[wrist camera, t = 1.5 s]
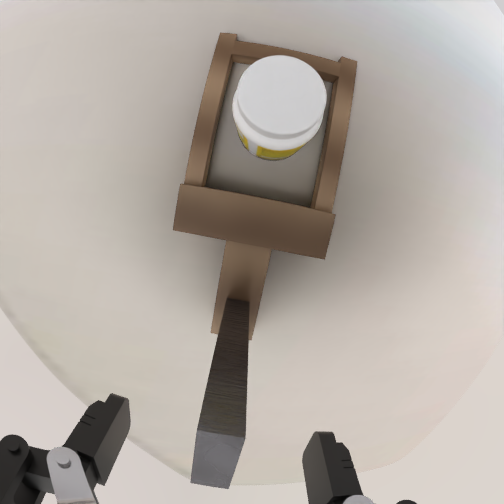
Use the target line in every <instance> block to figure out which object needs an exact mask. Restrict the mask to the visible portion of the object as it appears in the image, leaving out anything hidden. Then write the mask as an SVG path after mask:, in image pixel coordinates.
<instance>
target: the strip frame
mask: <svg viewBox="0 0 504 504" xmlns="http://www.w3.org/2000/svg"><path fill="white" fill-rule="evenodd" d="M275 55H284V56H290V57H294V58H297V59H299V60H302V61H304V62H305V63H307V64H308V65H310V66H311V67H312V68H313V69H314V70H315V71H316V72H317V73H318V74H319V75H320V77H321V79H322V80H325V81H328V82H332V83H333V89H332V96H331V102H330V108H329V114H328V119H327V125H326V131H325V136H324V142H323V147H322V152H321V158H320V163H319V168H318V173H317V178H316V183H315V188H314V193H313V197H312V202H311V207H306V206H301V205H297V204H292V203H287V202H283V201H278V200H273V199H268V198H263V197H258V196H253V195H248V194H243V193H237V192H232V191H227V190H221V189H215V188H210V187H205V185H206V179H207V174H208V169H209V164H210V159H211V154H212V149H213V144H214V140H215V135H216V130H217V126H218V121H219V117H220V112H221V108H222V104H223V99H224V95H225V91H226V87H227V83H228V79H229V75H230V71H231V67H232V63H233V62H237V63H244V64H250V65H252V64H253V63H254V62H256V61H258V60H260V59H262V58H265V57H269V56H275ZM356 67H357V61H354V60H351V59H348V58H345V57H341V58H340V60H339V61H338V62H336V61H333V60H329V59H326V58H322V57H318V56H314V55H311V54H307V53H302V52H298V51H294V50H289V49H284V48H279V47H274V46H268V45H263V44H256V43H250V42H242V41H238V40H237V34H229V33H220V35H219V39H218V42H217V45H216V49H215V52H214V56H213V59H212V63H211V66H210V70H209V74H208V77H207V81H206V85H205V89H204V93H203V97H202V101H201V105H200V109H199V114H198V118H197V122H196V127H195V131H194V136H193V141H192V145H191V150H190V155H189V160H188V165H187V170H186V176H185V181H184V184H180V189H179V194H178V200H177V206H176V213H175V219H174V226H173V230H175V231H180V232H186V233H191V234H196V235H201V236H207V237H212V238H217V239H222V240H226V245H225V251H224V256H223V262H222V268H221V273H220V279H219V285H218V291H217V297H216V303H215V309H214V315H213V321H212V327H211V333H214V334H218V337H217V342H216V346H215V351H214V355H213V360H212V364H211V368H210V373H209V377H208V382H207V386H206V391H205V395H204V400H203V405H202V409H201V414H200V418H199V423H198V428H197V434H196V442H195V450H194V458H193V466H192V474H191V483H194V484H200V485H206V486H212V487H218V488H225V489H228V488H229V486H230V483H231V480H232V477H233V474H234V471H235V468H236V465H237V462H238V459H239V456H240V453H241V450H242V447H243V444H244V441H245V435H246V404H247V372H248V341H249V340H252V335H253V331H254V327H255V322H256V318H257V314H258V309H259V305H260V300H261V296H262V291H263V287H264V282H265V278H266V273H267V269H268V264H269V260H270V255H271V251H272V249H274V250H279V251H284V252H289V253H294V254H299V255H304V256H310V257H315V258H320V259H325V257H326V253H327V249H328V245H329V241H330V236H331V232H332V228H333V224H334V219H335V214H332V209H333V204H334V199H335V195H336V190H337V185H338V180H339V175H340V170H341V164H342V159H343V154H344V148H345V142H346V137H347V131H348V125H349V118H350V112H351V105H352V98H353V91H354V84H355V76H356Z"/></svg>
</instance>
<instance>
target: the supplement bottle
mask: <svg viewBox="0 0 504 504" xmlns="http://www.w3.org/2000/svg"><path fill="white" fill-rule="evenodd" d="M326 100H327V94H326V88H325V85H324V83H323V80H322V79H321V77H320V75H319V74H318V73H317V72H316V71H315V70H314V69H313V68H312V67H311V66H310V65H308V64H307V63H305V62H304V61H302V60H299V59H297V58H294V57H290V56H284V55H275V56H269V57H265V58H262V59H260V60H258V61H256V62H254V63H253V64H252V65H250V66H249V67H248V68H247V69H246V70H245V72H244V73H243V74H242V76H241V78H240V80H239V83H238V88H237V90H236V92H235V94H234V97H233V103H232V112H233V117H234V121H235V124H236V127H237V131H238V134H239V137H240V140H241V142H242V144H243V145H244V147H245V148H246V149H247V150H248V151H249V152H250V153H251V154H253V155H254V156H256V157H258V158H261V159H264V160H269V161H278V160H282V159H286V158H288V157H290V156H291V155H293V154H294V153H296V152H297V151H298V150H299V149H300V148H301V147H303V146H304V145H305V144H306V143H307V142H308V141H310V140H311V139H312V138H313V137H314V135H315V134H316V133H317V131H318V130H319V128H320V125H321V123H322V120H323V112H324V110H325V106H326Z"/></svg>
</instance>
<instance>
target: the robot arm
mask: <svg viewBox="0 0 504 504" xmlns="http://www.w3.org/2000/svg"><path fill="white" fill-rule="evenodd" d="M130 422H131V421H130V410H129V400H128V398H124V397H121V396H118V395H116V394H113V393H112V394H110V395H109V397H108V398H107V400H106V402H102V401H99V400H98V401H96V402H95V403H93V404H92V405H90V406H89V407H88V409H87V410H86V412H85V413H84V415H83V416H82V418H81V419H80V422H78V424H77V425H76V427H75V429H74V430H73V432H72V433H71V435H70V436H69V438H68V439H67V441H66V443H65V444H64V445H63V446H62V447H57V448H54V449H52V450H43V449H39V448H35V447H31V446H28V444H27V442H26V441H25V440H24V439H23V438H22V437H20V436H18V435H8V436H5V437H4V438H3V439H2V440H1V441H0V504H41V502H42V500H43V498H44V496H45V494H46V492H48V493H52V494H55V496H56V499H57V503H58V504H99V502H98V500H97V497H96V495H95V492H94V487H95V486H96V484H97V483H98V484H101V485H103V486H104V485H105V483H106V481H107V479H108V476H109V474H110V472H111V470H112V467H113V465H114V463H115V461H116V459H117V456H118V454H119V452H120V450H121V447H122V445H123V443H124V441H125V439H126V437H127V434H128V432H129V429H130ZM351 460H352V459H351V456H350V453H349V450H348V449H347V448H346V447H345V446H344V444H343V443H336V440H335V436H334V434H333V432H317V431H316V432H314V434H313V436H312V438H311V439H310V441H309V443H308V445H307V447H306V449H305V451H304V453H303V459H302V463H303V469H304V475H305V482H306V488H307V495H308V501H309V504H374V503H373V502H372V500H371V499H369V498H368V497H366V496H364V495H363V493H362V491H361V487H360V484H359V481H358V478H357V475H356V471H355V468H354V465H353V462H352V461H351ZM397 504H416V503H415V502H413V501H411V500H402V501H399V502H398V503H397Z"/></svg>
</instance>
